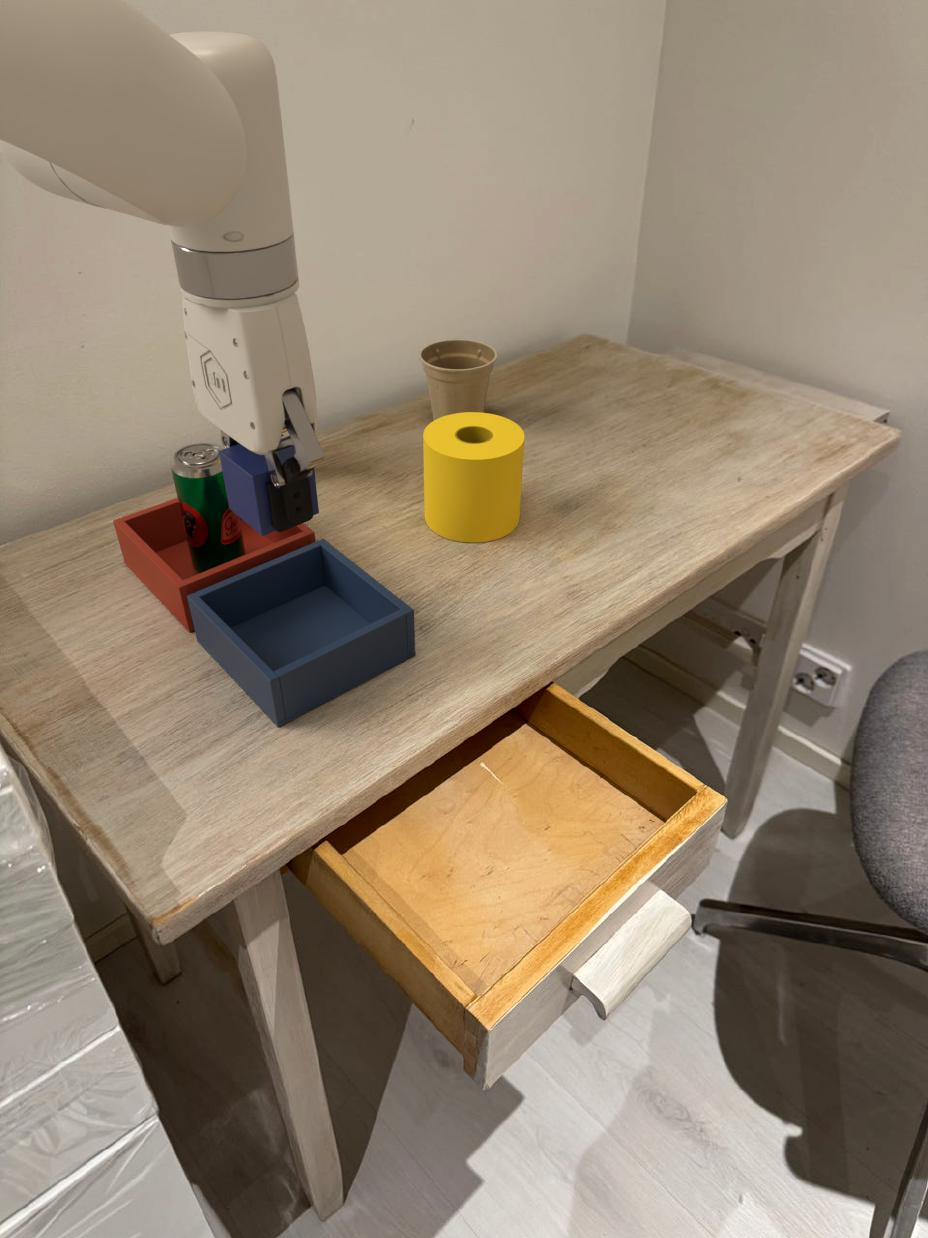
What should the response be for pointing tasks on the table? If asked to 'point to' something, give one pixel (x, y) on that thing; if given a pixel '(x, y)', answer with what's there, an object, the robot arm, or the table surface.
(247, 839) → the table surface
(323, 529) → the table surface
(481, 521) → the tape roll
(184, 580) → the red bin
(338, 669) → the blue bin
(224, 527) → the soda can
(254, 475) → the blue block
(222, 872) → the table surface
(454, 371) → the flower pot
